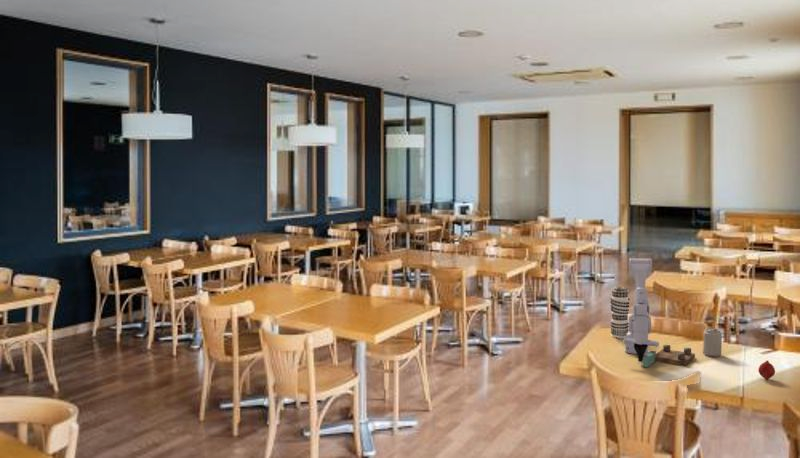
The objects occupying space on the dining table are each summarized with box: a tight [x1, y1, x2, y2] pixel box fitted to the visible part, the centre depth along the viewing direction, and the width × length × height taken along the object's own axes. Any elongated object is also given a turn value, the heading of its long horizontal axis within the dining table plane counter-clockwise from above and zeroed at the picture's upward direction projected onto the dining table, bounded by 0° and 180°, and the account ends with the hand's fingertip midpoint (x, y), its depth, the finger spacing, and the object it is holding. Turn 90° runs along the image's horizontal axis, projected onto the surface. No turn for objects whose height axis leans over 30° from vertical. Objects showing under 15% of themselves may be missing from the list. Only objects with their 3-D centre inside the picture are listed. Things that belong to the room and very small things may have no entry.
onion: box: [757, 360, 776, 381], centre depth 267 cm, size 6×6×8 cm
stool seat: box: [656, 344, 696, 367], centre depth 296 cm, size 14×14×4 cm
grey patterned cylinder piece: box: [609, 285, 631, 339], centre depth 336 cm, size 9×9×25 cm
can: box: [702, 327, 723, 358], centre depth 301 cm, size 8×8×12 cm
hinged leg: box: [642, 350, 657, 368], centre depth 290 cm, size 11×2×4 cm, turn 141°
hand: (640, 361), depth 290 cm, fingers closed
